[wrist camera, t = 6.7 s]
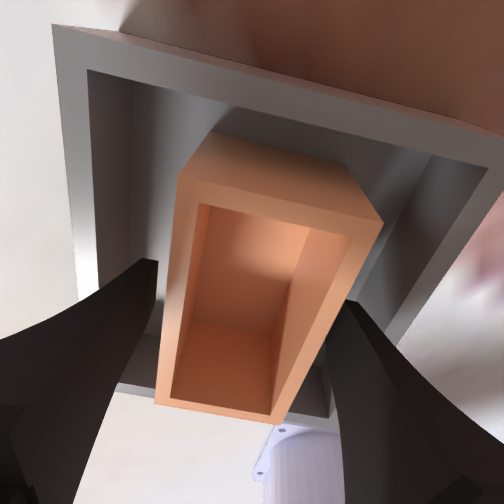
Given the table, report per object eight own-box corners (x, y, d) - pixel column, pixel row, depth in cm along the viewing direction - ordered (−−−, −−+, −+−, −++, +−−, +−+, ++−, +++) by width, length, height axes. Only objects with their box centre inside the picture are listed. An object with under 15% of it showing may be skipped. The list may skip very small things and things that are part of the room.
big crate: (326, 366, 20) (338, 429, 17) (119, 327, 19) (87, 386, 16) (460, 119, 12) (532, 147, 9) (117, 31, 11) (51, 24, 8)
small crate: (277, 336, 18) (280, 425, 14) (181, 317, 17) (153, 403, 13) (345, 164, 12) (384, 223, 8) (209, 131, 12) (178, 175, 8)
